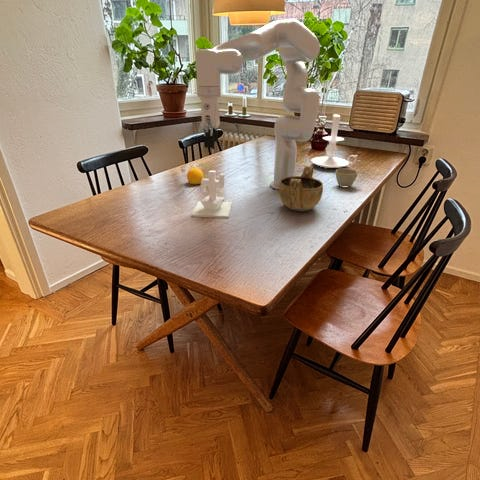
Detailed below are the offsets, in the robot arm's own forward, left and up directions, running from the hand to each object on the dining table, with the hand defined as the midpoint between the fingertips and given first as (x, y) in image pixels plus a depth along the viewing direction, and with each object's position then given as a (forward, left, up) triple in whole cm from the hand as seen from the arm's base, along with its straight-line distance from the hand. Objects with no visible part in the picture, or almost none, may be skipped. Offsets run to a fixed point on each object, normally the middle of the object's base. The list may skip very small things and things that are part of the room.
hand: (211, 144), depth 116 cm
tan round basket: (-34, -5, -26) cm, 43 cm away
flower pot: (-58, -34, -26) cm, 72 cm away
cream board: (0, 0, -26) cm, 26 cm away
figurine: (0, 0, -25) cm, 25 cm away
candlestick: (-58, -65, -26) cm, 91 cm away
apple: (+13, -31, -26) cm, 42 cm away
